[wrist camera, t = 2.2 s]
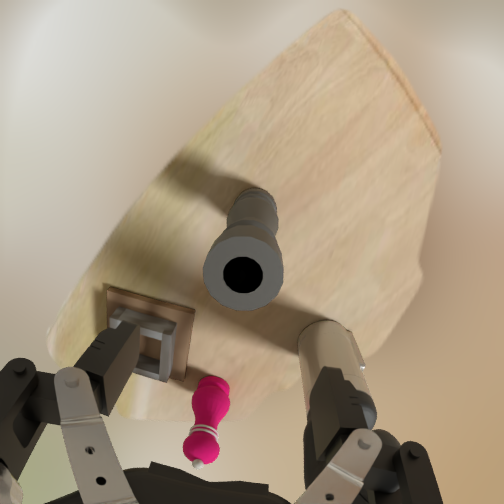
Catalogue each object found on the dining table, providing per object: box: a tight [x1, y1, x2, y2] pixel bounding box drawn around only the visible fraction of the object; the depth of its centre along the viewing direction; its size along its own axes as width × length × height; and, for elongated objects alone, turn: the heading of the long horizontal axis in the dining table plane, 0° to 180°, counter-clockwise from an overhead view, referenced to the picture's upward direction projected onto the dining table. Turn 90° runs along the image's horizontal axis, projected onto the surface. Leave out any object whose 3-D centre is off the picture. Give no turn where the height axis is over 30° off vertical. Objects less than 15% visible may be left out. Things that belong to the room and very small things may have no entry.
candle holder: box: [203, 188, 283, 311], centre depth 33 cm, size 6×6×25 cm
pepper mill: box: [183, 376, 230, 469], centre depth 47 cm, size 7×7×20 cm
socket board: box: [107, 287, 195, 383], centre depth 51 cm, size 16×16×6 cm
